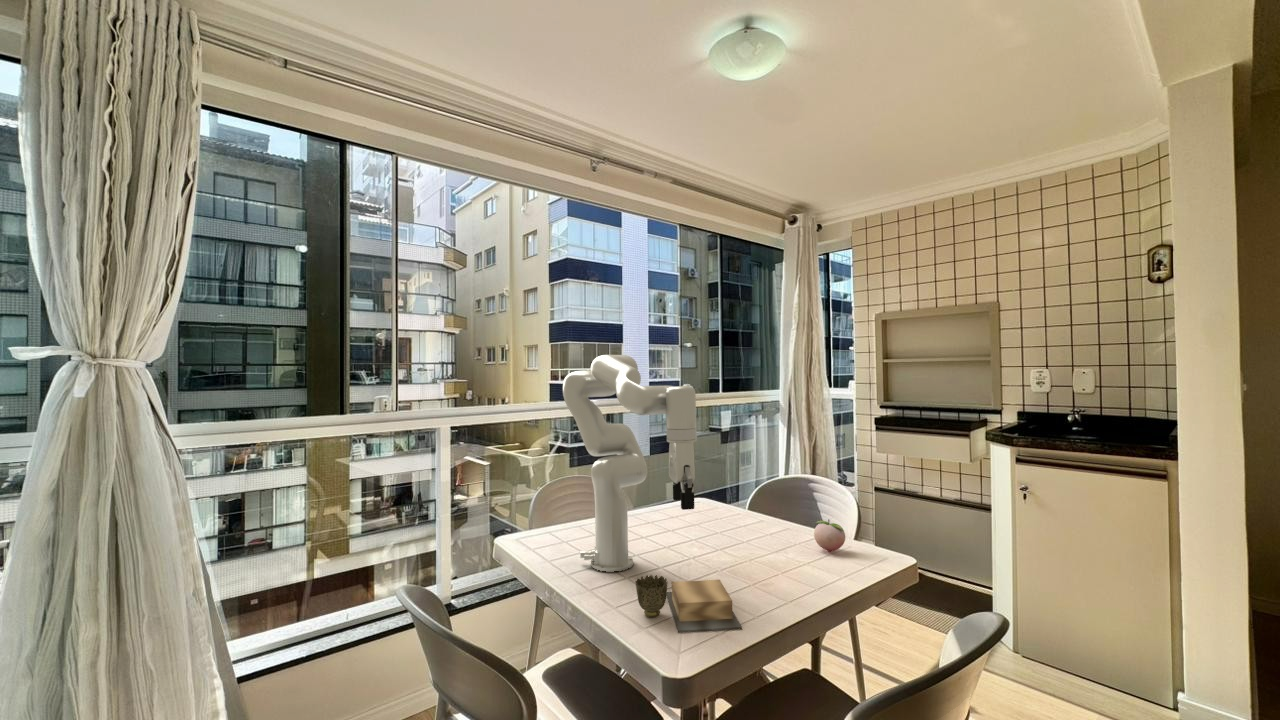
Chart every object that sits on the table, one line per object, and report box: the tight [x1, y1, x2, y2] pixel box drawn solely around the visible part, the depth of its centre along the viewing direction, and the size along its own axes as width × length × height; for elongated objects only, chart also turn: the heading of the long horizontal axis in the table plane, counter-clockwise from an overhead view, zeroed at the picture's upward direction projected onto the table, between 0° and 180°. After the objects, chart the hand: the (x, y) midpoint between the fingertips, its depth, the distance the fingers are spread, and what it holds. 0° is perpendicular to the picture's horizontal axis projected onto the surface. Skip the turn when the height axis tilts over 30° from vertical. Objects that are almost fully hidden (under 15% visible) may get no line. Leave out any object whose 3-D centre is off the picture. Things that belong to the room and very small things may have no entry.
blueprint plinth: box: [666, 579, 743, 634], centre depth 121 cm, size 14×20×4 cm
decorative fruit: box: [813, 519, 846, 553], centre depth 158 cm, size 9×8×10 cm
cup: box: [634, 574, 669, 619], centre depth 118 cm, size 8×7×8 cm
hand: (683, 504), depth 128 cm, fingers open, 9 cm apart
